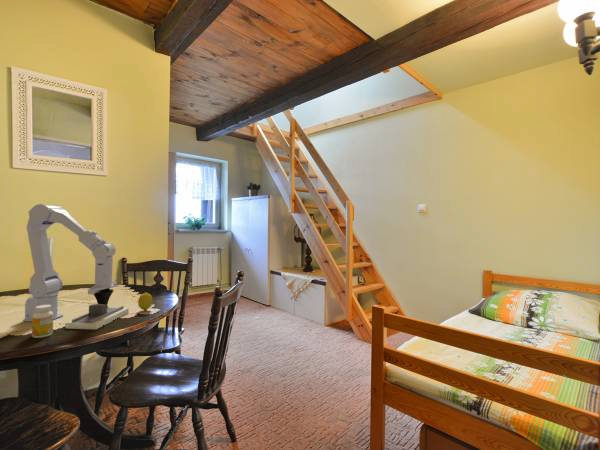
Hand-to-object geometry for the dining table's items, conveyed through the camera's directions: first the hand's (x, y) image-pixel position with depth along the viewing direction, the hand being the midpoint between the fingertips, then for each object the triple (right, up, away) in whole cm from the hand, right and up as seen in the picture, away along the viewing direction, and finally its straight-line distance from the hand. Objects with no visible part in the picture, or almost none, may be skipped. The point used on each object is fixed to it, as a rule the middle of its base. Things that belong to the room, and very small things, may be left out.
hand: (102, 308), depth 120 cm
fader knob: (0, -2, -3) cm, 3 cm away
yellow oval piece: (+11, -5, +12) cm, 17 cm away
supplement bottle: (-8, -4, -18) cm, 21 cm away
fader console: (0, -4, -2) cm, 4 cm away
